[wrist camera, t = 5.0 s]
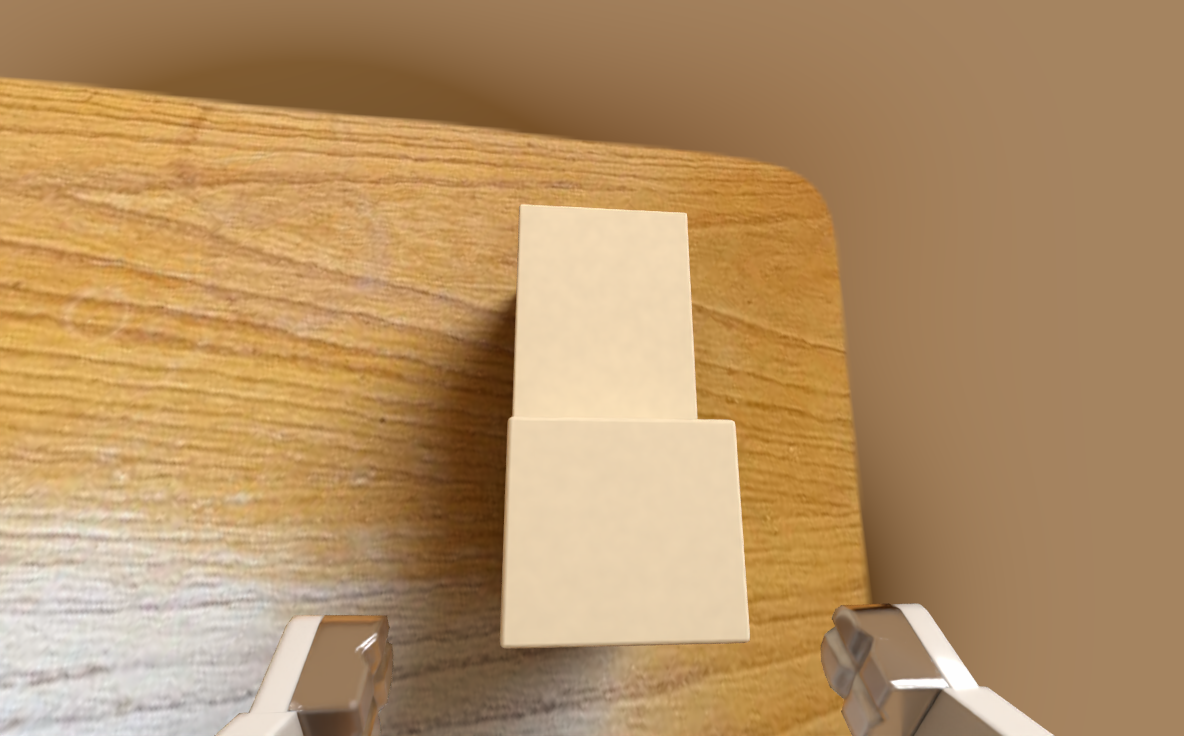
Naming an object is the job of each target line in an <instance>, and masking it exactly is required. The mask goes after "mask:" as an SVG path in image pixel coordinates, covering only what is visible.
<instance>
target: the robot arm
mask: <svg viewBox="0 0 1184 736" xmlns="http://www.w3.org/2000/svg"><path fill="white" fill-rule="evenodd" d="M832 620H833V622H834V624H835V627H834V628H832V629H831V630H830V631H828V632H827V633H826V634H825V635H824V638H823V641H822V644H821V662H822V666H823V670H824V673H825V676H826V678H827V680H828V683H829V685H830V687H831V688H832V689H833V690H834V691H835V692H836V693H837V694H839V695H840V696H841V697H842V698H843V699H844V701H843V706H842V711H841V712H842V714H843V717H844V719H845V721H846V723H847V725H848V728H849V730H850V732H851V734H852V736H1054V735H1052V734H1051V733H1050V732H1048V731H1047V730H1046V729H1044V728H1043V727H1041V726H1040V725H1039V724H1037V723H1036V722H1034V721H1033V720H1032V719H1030V718H1029V717H1028V716H1026V715H1025V714H1023V713H1022V712H1021V711H1019V710H1018V709H1017V708H1015V707H1014V706H1013V705H1011V704H1010V703H1008V702H1007V701H1006V700H1004V699H1003V698H1002V697H1000V696H999V695H997V694H996V693H994V692H993V691H992V690H991V689H989V688H988V687H979V686H978V685H977V683H976V682H975V680H974V679H973V677H972V676H971V674H970V673H969V672H968V670H967V668H966V667H965V666H964V664H963V663H962V661H961V660H960V658H959V657H958V655H957V654H956V652H955V651H954V649H953V648H952V647H951V645H950V643H949V642H948V641H947V639H946V638H945V636H944V635H943V633H942V632H941V630H940V629H939V627H938V626H937V624H936V623H935V621H934V620H933V618H932V617H931V616H930V614H929V613H928V611H927V610H926V609H925V608H924V607H923V606H921V605H920V604H894V605H891V604H865V605H841V606H840V607H838V608H837V609H835V612H834V614H833V616H832ZM389 628H390V627H389V622H388V617H387V615H301V616H293V617H292V619H291V620H290V621H289V623H288V624H287V625H286V627H285V630H284V632H283V634H282V637H281V639H280V641H279V644H278V646H277V648H276V651H275V653H274V655H273V658H272V660H271V662H270V665H269V667H268V669H267V672H266V674H265V676H264V679H263V681H262V683H261V686H260V688H259V690H258V693H257V695H256V697H255V700H254V702H253V704H252V707H251V709H250V711H249V713H239V714H238V715H237V716H236V717H235V718H234V719H232V720H231V721H230V722H229V723H228V724H227V725H226V726H225V727H224V728H223V729H221V730H220V731H219V732H218V733H217V734H216V735H215V736H380V734H381V725H380V719H379V711H380V710H381V709H382V708H383V707H384V706H385V705H386V704H387V703H388V698H389V693H390V689H391V683H392V674H393V648H392V644H391V643H389V642H388V641H387V637H388V632H389Z"/></svg>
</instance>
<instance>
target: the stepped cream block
mask: <svg viewBox="0 0 1184 736" xmlns="http://www.w3.org/2000/svg"><path fill="white" fill-rule="evenodd" d="M749 639H750V631H749V616H748V602H747V587H746V573H745V558H744V544H743V529H742V515H741V500H740V486H739V471H738V457H737V442H736V428H735V423H734V421H731V420H700V419H697V401H696V382H695V362H694V343H693V324H692V304H691V285H690V266H689V247H688V227H687V214H686V213H676V212H657V211H638V210H618V209H599V208H580V207H560V206H541V205H520V206H519V227H518V258H517V288H516V319H515V349H514V379H513V410H512V417H511V418H509V420H508V425H507V454H506V482H505V511H504V540H503V568H502V597H501V625H500V644H501V647H503V648H505V649H512V648H554V647H595V646H637V645H679V644H720V643H746V642H748V641H749Z"/></svg>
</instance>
